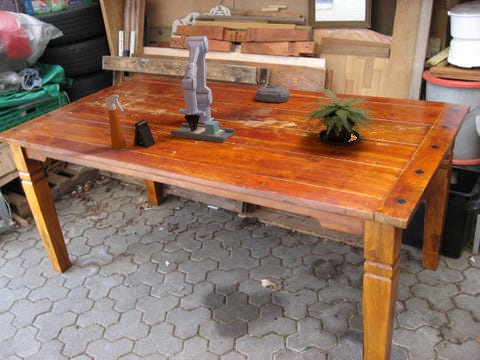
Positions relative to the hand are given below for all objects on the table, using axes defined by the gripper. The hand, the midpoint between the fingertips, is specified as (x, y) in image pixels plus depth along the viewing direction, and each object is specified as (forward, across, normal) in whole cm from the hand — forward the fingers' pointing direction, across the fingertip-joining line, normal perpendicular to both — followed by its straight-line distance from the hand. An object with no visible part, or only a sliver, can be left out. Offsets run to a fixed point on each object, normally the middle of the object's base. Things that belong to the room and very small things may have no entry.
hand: (193, 128), depth 228 cm
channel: (+3, +5, 0) cm, 5 cm away
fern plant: (+3, +71, +14) cm, 72 cm away
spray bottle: (+3, -25, -26) cm, 36 cm away
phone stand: (+3, -16, -20) cm, 26 cm away
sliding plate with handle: (+2, +7, 0) cm, 7 cm away
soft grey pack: (+3, +19, +63) cm, 66 cm away
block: (+1, +10, 0) cm, 11 cm away
